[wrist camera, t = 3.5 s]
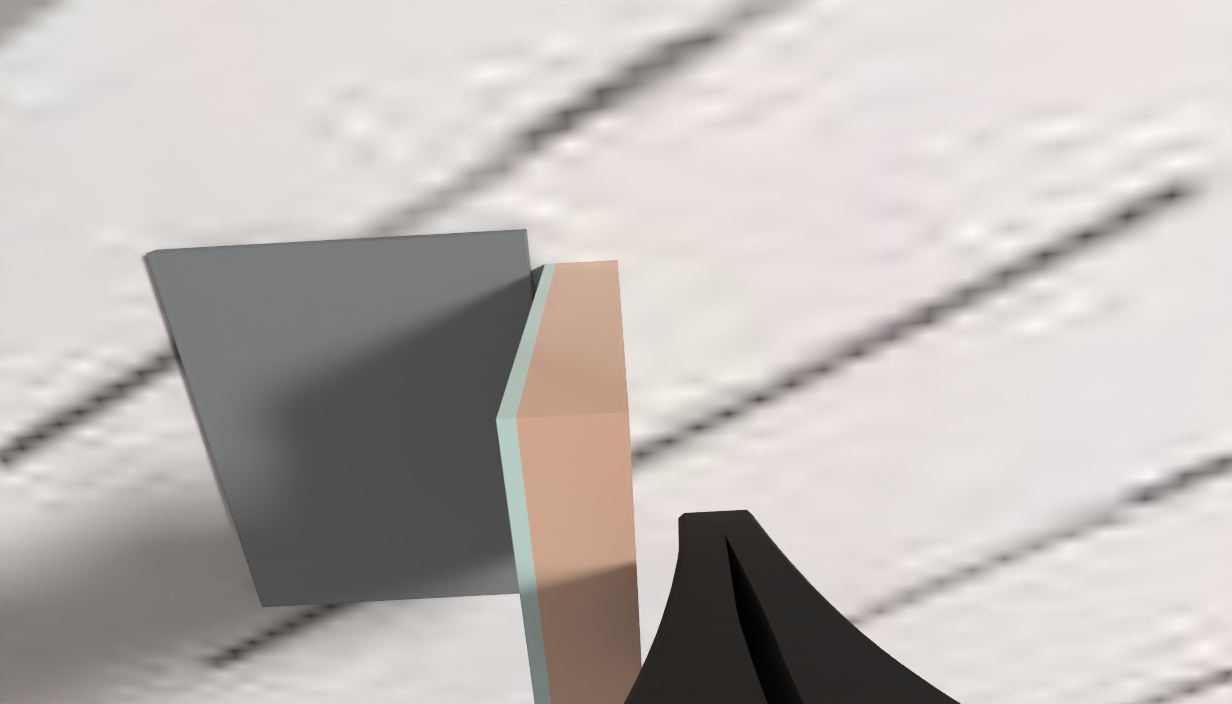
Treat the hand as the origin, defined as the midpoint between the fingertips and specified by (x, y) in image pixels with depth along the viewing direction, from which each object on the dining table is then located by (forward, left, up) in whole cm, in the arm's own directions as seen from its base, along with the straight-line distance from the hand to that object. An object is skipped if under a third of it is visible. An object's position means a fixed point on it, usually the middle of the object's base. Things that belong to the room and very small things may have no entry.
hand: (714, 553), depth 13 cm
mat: (-1, +9, -7) cm, 12 cm away
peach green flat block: (0, +2, -8) cm, 8 cm away
